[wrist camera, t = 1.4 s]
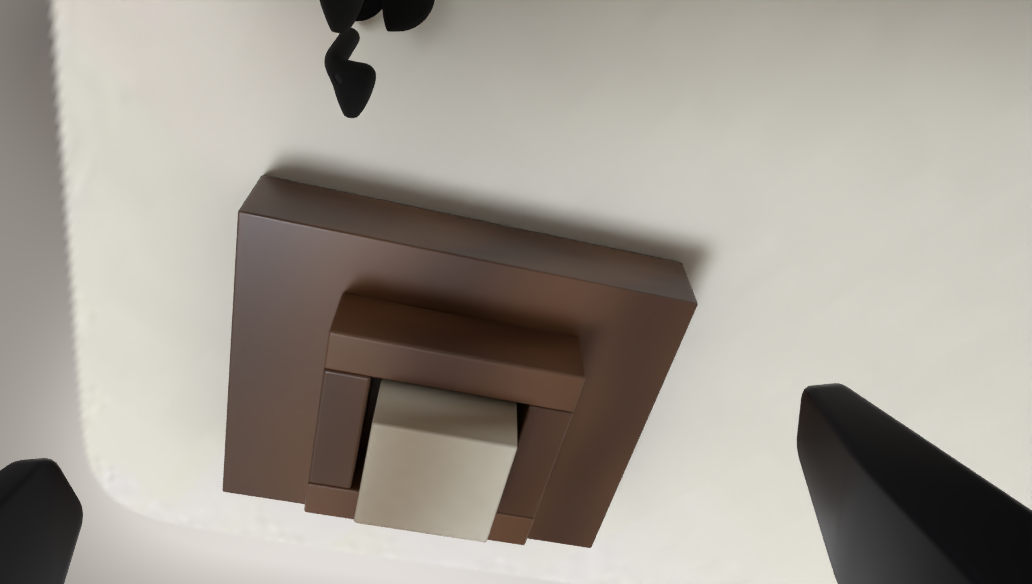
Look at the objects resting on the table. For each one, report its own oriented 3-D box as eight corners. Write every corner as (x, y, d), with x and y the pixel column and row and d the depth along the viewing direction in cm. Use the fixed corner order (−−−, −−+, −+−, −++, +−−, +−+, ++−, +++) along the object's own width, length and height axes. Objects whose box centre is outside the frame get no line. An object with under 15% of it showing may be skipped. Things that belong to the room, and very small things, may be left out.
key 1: (517, 401, 20) (518, 447, 19) (488, 494, 22) (486, 544, 21) (381, 377, 20) (371, 423, 18) (363, 474, 22) (352, 523, 20)
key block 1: (682, 262, 22) (714, 344, 19) (585, 498, 28) (596, 595, 24) (261, 174, 21) (214, 246, 17) (242, 442, 26) (202, 538, 23)
